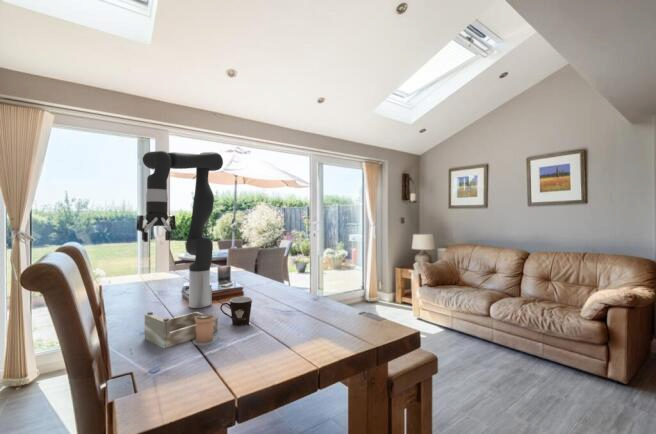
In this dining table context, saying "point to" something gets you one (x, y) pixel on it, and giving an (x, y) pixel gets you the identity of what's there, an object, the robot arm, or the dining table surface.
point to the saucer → (215, 339)
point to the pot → (204, 328)
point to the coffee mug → (239, 310)
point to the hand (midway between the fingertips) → (156, 241)
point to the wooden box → (172, 329)
